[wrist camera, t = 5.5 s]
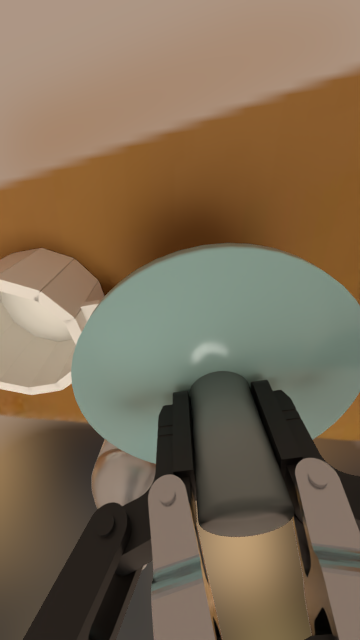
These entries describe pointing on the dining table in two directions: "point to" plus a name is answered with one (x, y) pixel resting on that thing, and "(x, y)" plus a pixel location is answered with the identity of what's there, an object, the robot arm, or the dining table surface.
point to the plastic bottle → (120, 476)
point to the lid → (220, 367)
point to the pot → (42, 318)
